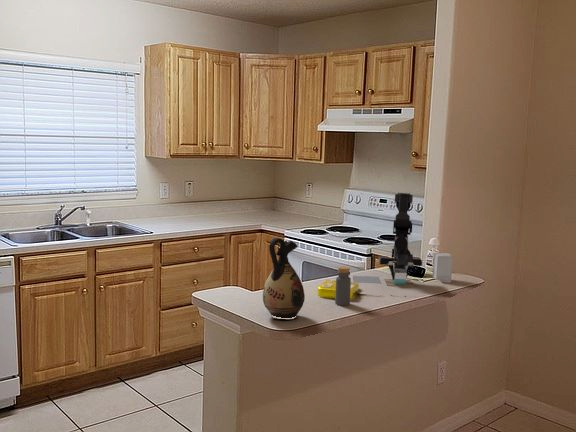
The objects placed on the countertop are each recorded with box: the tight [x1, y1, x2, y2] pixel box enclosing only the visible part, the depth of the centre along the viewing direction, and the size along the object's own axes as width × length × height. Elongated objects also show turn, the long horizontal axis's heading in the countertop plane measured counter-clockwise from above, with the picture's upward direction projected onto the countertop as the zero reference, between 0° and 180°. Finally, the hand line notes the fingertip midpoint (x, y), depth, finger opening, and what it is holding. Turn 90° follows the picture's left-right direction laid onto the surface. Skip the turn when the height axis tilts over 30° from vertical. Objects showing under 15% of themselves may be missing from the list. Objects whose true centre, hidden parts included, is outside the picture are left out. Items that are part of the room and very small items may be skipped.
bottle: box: [334, 265, 352, 307], centre depth 236 cm, size 6×6×15 cm
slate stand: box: [352, 275, 382, 284], centre depth 271 cm, size 12×12×2 cm
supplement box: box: [432, 252, 454, 284], centre depth 278 cm, size 7×7×13 cm
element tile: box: [317, 279, 360, 301], centre depth 250 cm, size 15×15×5 cm
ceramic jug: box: [262, 237, 306, 318], centre depth 216 cm, size 17×15×30 cm
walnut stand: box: [383, 278, 415, 288], centre depth 266 cm, size 12×12×2 cm
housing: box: [391, 268, 407, 285], centre depth 266 cm, size 8×5×6 cm, turn 178°
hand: (399, 279), depth 266 cm, fingers closed on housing, 5 cm apart
